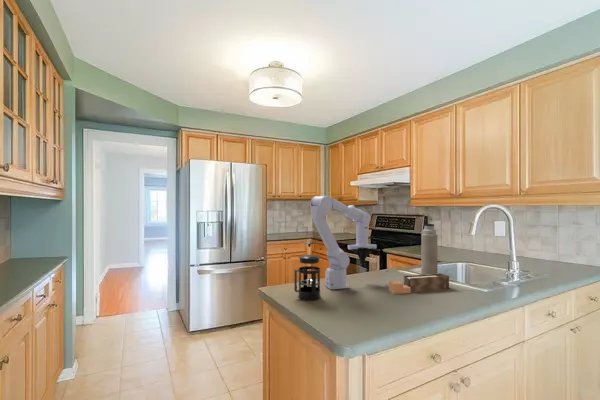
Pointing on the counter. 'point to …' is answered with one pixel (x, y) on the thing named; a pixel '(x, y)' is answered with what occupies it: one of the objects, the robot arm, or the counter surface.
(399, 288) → the peach two-level step
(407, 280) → the sliding door
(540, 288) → the counter surface
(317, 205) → the robot arm
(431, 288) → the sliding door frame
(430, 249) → the thermos bottle
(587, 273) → the counter surface
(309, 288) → the french press
